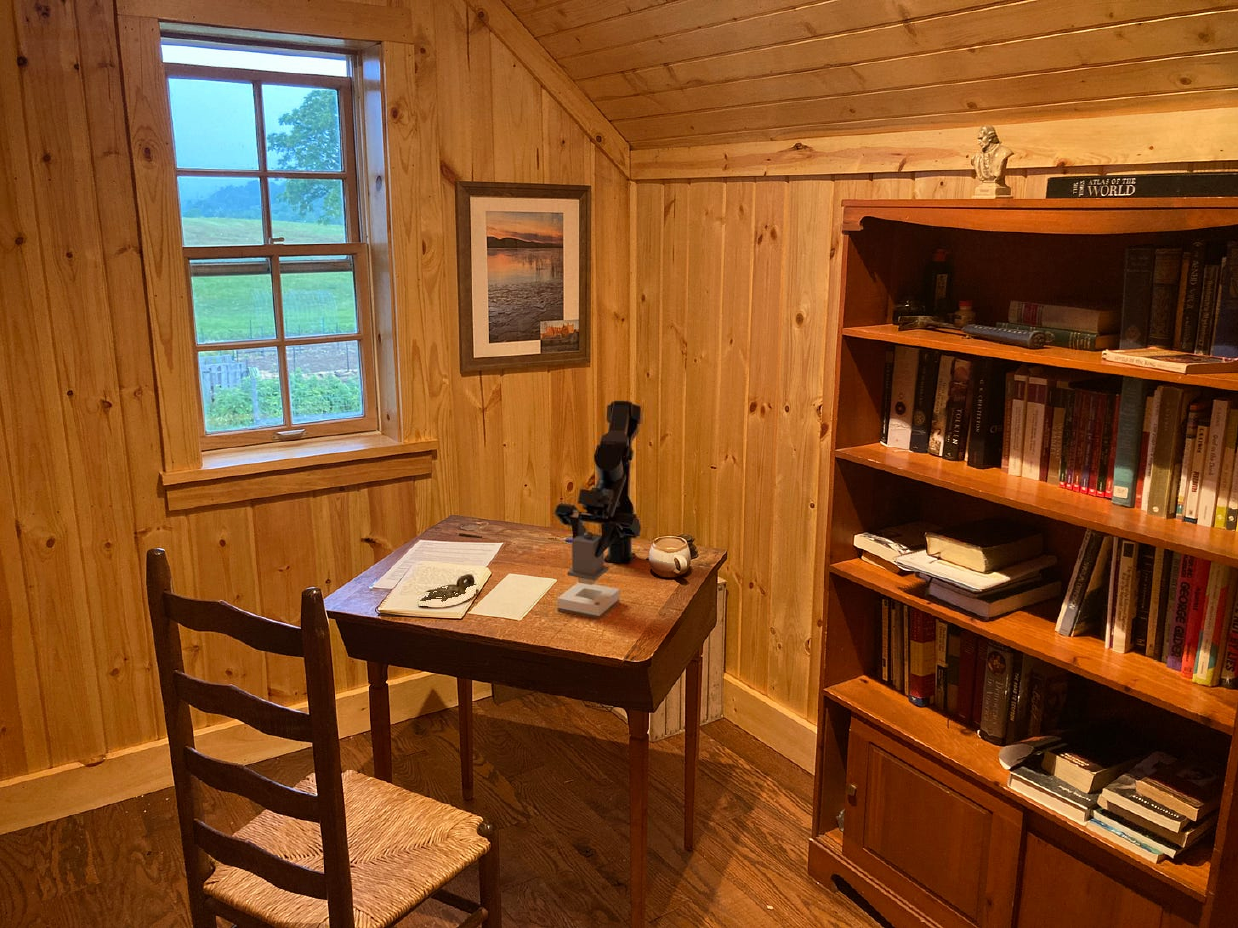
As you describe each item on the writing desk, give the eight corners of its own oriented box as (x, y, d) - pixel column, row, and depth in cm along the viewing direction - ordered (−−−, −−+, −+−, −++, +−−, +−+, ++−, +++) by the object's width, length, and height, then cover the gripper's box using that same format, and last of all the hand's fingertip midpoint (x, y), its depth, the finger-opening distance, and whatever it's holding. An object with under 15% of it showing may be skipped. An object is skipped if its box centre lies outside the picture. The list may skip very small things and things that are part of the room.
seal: (431, 619, 212) (487, 598, 222) (431, 600, 210) (488, 579, 220) (407, 602, 218) (462, 582, 228) (407, 583, 216) (463, 564, 226)
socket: (579, 594, 221) (579, 580, 220) (619, 601, 217) (619, 587, 216) (557, 610, 213) (557, 596, 212) (599, 619, 209) (599, 605, 208)
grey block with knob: (581, 573, 218) (581, 526, 215) (608, 578, 215) (608, 530, 212) (567, 583, 212) (566, 535, 209) (595, 589, 209) (594, 540, 206)
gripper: (557, 467, 214) (533, 531, 208) (635, 478, 206) (612, 544, 200) (574, 492, 223) (552, 554, 217) (650, 503, 215) (629, 567, 209)
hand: (585, 554), depth 210 cm, fingers closed on grey block with knob, 5 cm apart
